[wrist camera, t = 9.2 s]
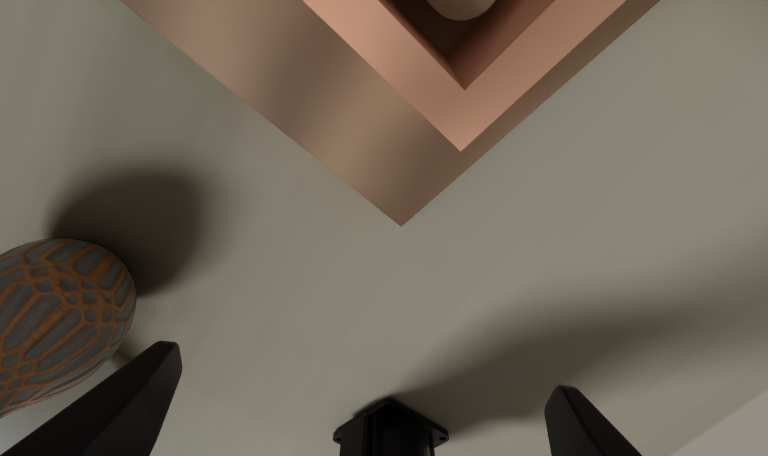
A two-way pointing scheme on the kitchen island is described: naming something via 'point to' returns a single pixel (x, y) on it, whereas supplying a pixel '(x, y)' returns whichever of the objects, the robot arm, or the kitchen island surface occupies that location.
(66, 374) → the patterned egg
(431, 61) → the square frame with post
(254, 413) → the kitchen island surface
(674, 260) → the kitchen island surface
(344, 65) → the board
